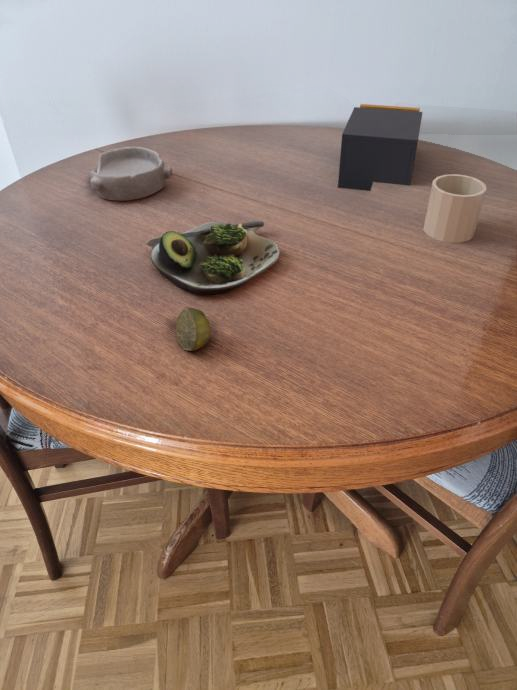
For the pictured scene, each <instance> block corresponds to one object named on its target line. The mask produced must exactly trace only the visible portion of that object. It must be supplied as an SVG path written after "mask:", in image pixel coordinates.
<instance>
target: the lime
mask: <svg viewBox="0 0 517 690" xmlns="http://www.w3.org/2000/svg"><path fill="white" fill-rule="evenodd" d="M175 329H176V330H175V331H176V337H177V341H178V343H179V345H180V346H181V347H182V348H183V350H185V351H189V352H193V351H197V350H199V349H201V348H202V347H204V346H205V345H206V344H207V343H208V342H209V340H210V338H211V334H212V331H211V330H212V329H211V325H210V322H209V319H208V318H207V316H206V314H205V313H204V312H203V311H202V310H200V309H197V308H194V307H185V308H183V309H182V310H181V311H180V313H179V314H178V316H177V318H176V328H175Z"/></svg>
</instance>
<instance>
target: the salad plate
mask: <svg viewBox="0 0 517 690" xmlns="http://www.w3.org/2000/svg"><path fill="white" fill-rule="evenodd" d="M264 225H265V223H264V222H263V221H262V220H253V221H250V222H238V223H236V224H235V223H231V222H225V221H224V222H220V221H214V222H213V221H210V222H205V223H202V224H200V225H197V226H195V227H193V228H190V229H189V230H187V231H185V232H182V233H180V232H178V231H173V230H171V231H169V230H168V231H165V232H164V233H163V234H162V235H161V237H157V238H156V237H155V238H153V239H149V241H147V243H145V245H146V246H148V247H150V248H151V249H152V251H151V254H150V260H151V263H152V265H153V266H154V267H155V269H156V270H157V271H158V272H159V273H160V275H161V276H163V277H164V278H165V279H166V280H167V281H169V282H170V283H171V284H173V285H174V286H176V287H177V286H178V287H177V288H179V287H180V288H179V289H181V290H183V291H185V292H187V293H190V292H191V293H190V294H194V295H199V296H205V297H215V296H220V295H224V294H227V293H230V292H233V291H235V290H238V289H240V288H242V287H244V286H246V285H247V284H248V283H249V282H250V281H252V280H254V279H255V278H257V277H258V276H260V275H262V274H263V273H264V272H266V271H267V270H268V269H269V268H271V266H273V265H275V264H276V263H277V261H278V260H279V258H280V256H281V253H280V247H279V245H277V243H275V242H274V241H272V240H270V239H268V238H266V237H263V236H261V235H258V234H257V233H256V231H257V230H260V229H261V228H263V227H264Z"/></svg>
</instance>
